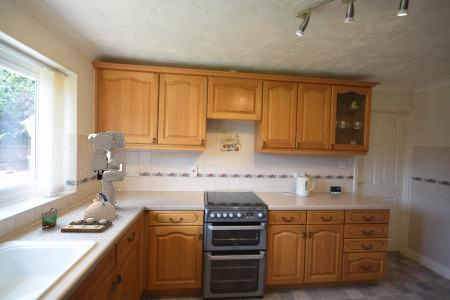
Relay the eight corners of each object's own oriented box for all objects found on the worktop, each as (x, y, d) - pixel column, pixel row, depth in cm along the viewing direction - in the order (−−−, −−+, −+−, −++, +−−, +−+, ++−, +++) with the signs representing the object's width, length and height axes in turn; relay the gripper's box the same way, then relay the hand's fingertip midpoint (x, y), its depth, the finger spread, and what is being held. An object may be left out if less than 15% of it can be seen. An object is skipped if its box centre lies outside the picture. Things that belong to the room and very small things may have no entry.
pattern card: (68, 225, 133) (68, 224, 133) (104, 225, 134) (104, 225, 134) (62, 228, 128) (62, 227, 128) (99, 229, 129) (99, 228, 129)
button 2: (101, 221, 140) (101, 219, 140) (107, 221, 140) (107, 219, 140) (98, 224, 136) (98, 221, 136) (104, 224, 136) (104, 221, 136)
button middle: (89, 220, 139) (89, 217, 139) (95, 220, 139) (95, 217, 139) (85, 222, 135) (85, 219, 135) (91, 222, 135) (91, 220, 135)
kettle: (108, 211, 169) (109, 188, 168) (121, 217, 156) (121, 192, 155) (79, 217, 153) (79, 192, 153) (89, 225, 140) (90, 197, 140)
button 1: (76, 221, 139) (76, 219, 139) (82, 221, 139) (82, 219, 139) (72, 223, 135) (72, 221, 135) (78, 223, 135) (78, 221, 135)
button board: (75, 223, 141) (75, 219, 141) (112, 224, 142) (112, 219, 142) (60, 231, 128) (60, 226, 128) (101, 232, 129) (101, 227, 129)
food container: (53, 229, 132) (53, 213, 132) (41, 230, 130) (41, 213, 130) (61, 222, 144) (62, 207, 144) (50, 223, 142) (51, 208, 142)
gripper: (113, 152, 150) (113, 179, 151) (91, 152, 150) (91, 178, 150) (108, 153, 143) (108, 181, 143) (85, 153, 142) (85, 180, 143)
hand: (99, 179), depth 147 cm, fingers closed
